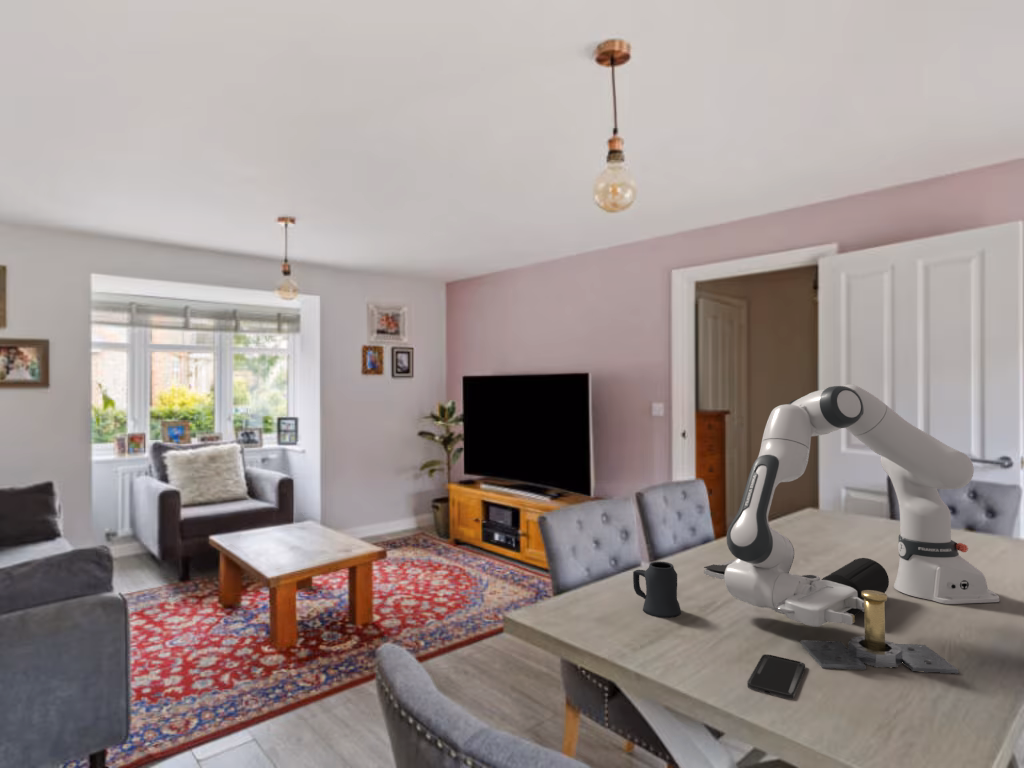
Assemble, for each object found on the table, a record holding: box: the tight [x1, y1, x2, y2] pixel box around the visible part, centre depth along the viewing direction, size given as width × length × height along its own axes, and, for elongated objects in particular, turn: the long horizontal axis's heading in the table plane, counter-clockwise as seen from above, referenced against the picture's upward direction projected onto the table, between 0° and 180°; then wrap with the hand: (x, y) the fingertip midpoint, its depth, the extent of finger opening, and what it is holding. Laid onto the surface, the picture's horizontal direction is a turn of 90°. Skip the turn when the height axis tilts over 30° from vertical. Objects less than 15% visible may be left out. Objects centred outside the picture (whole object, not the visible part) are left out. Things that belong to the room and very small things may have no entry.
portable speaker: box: [820, 557, 890, 617], centre depth 148 cm, size 26×10×10 cm, turn 133°
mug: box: [632, 561, 682, 619], centre depth 147 cm, size 12×9×11 cm
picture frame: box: [703, 559, 801, 580], centre depth 171 cm, size 16×3×21 cm
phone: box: [746, 653, 806, 700], centre depth 112 cm, size 8×1×15 cm
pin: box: [861, 590, 888, 652], centre depth 120 cm, size 4×4×13 cm
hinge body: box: [800, 636, 959, 675], centre depth 120 cm, size 24×11×2 cm, turn 84°
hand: (863, 614), depth 122 cm, fingers open, 8 cm apart
